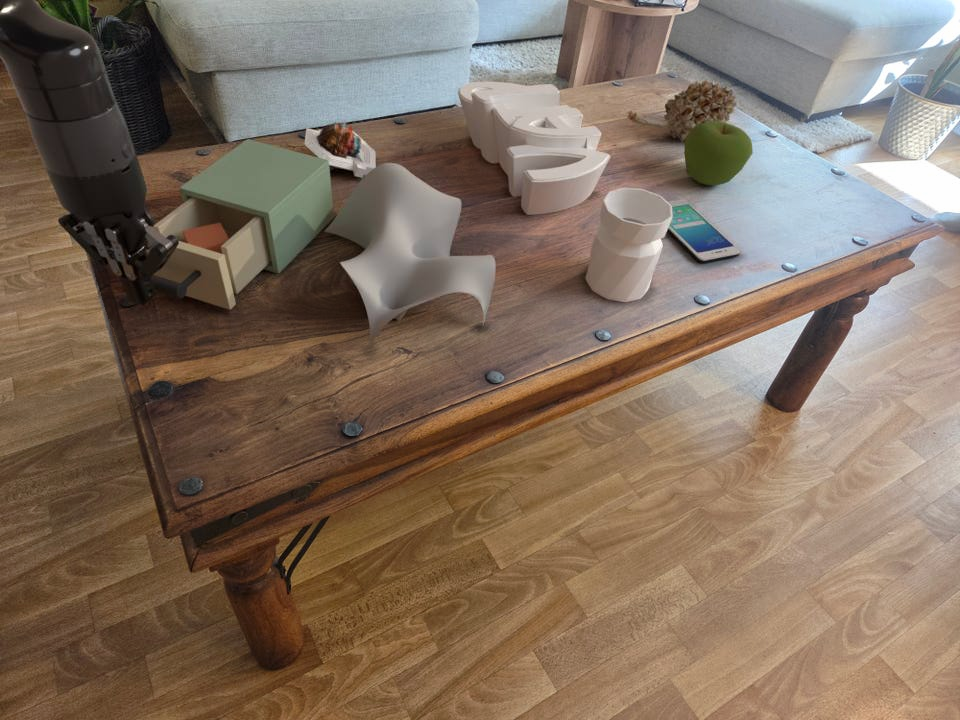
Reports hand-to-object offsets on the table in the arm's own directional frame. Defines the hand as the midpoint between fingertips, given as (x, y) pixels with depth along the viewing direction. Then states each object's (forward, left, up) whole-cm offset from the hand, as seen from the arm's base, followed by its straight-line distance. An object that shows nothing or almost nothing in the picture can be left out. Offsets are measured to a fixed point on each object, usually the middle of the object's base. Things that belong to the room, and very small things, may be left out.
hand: (143, 299), depth 72 cm
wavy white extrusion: (+46, +42, -6) cm, 63 cm away
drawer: (+4, +10, -5) cm, 12 cm away
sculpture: (+28, +13, -6) cm, 32 cm away
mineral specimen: (+16, +41, -6) cm, 45 cm away
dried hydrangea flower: (+75, +57, -6) cm, 95 cm away
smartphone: (+70, +26, -5) cm, 75 cm away
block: (+4, +11, -3) cm, 12 cm away
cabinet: (+8, +21, -5) cm, 24 cm away
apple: (+77, +42, -6) cm, 88 cm away
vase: (+56, +13, -6) cm, 58 cm away
